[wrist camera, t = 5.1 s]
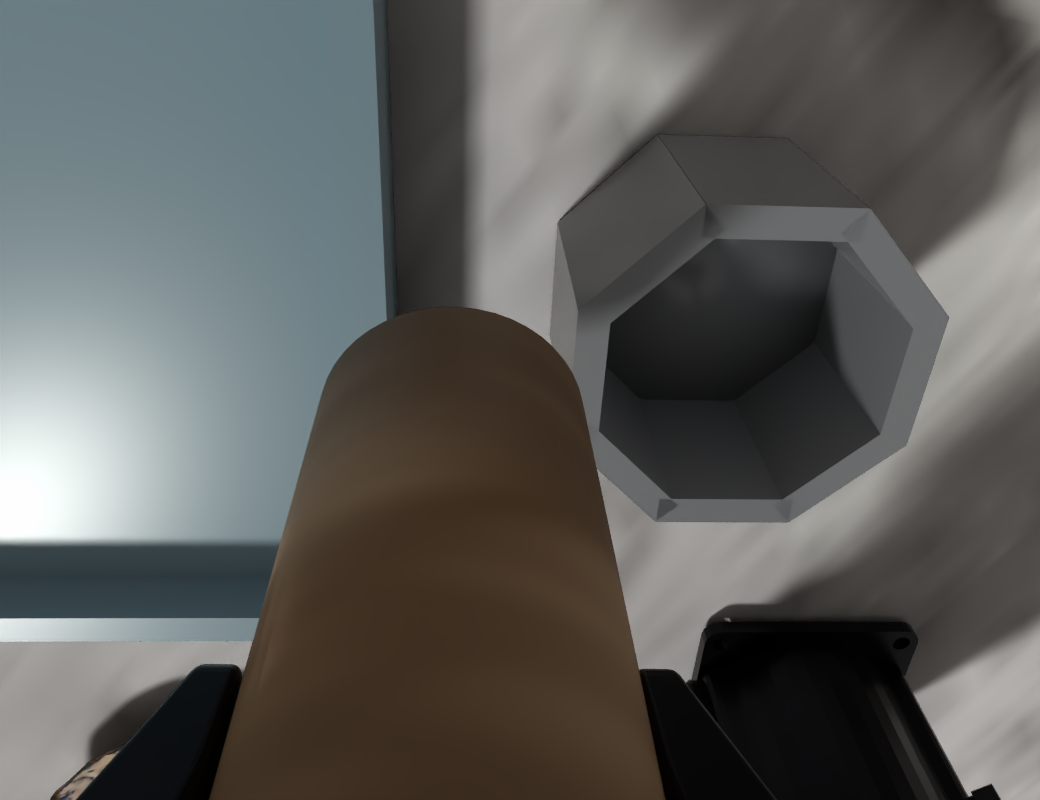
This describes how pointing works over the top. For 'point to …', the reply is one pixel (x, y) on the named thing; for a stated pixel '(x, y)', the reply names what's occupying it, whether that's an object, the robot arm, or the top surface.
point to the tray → (176, 295)
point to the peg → (444, 588)
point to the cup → (738, 329)
